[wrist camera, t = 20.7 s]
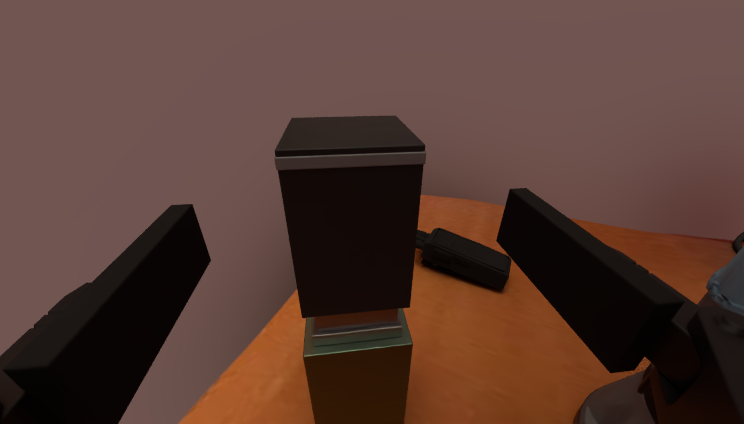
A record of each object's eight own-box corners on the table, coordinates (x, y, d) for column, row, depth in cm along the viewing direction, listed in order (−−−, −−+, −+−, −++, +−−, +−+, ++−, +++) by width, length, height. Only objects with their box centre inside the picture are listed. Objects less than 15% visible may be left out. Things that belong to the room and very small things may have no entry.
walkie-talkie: (504, 293, 37) (368, 239, 45) (497, 295, 43) (378, 246, 50) (518, 249, 39) (384, 203, 46) (510, 256, 44) (392, 214, 51)
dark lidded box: (390, 245, 23) (396, 115, 18) (411, 308, 17) (427, 145, 13) (307, 251, 22) (290, 117, 17) (301, 319, 17) (272, 150, 12)
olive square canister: (387, 365, 31) (393, 243, 23) (402, 441, 25) (416, 311, 17) (321, 373, 30) (305, 249, 22) (320, 454, 24) (296, 323, 16)
